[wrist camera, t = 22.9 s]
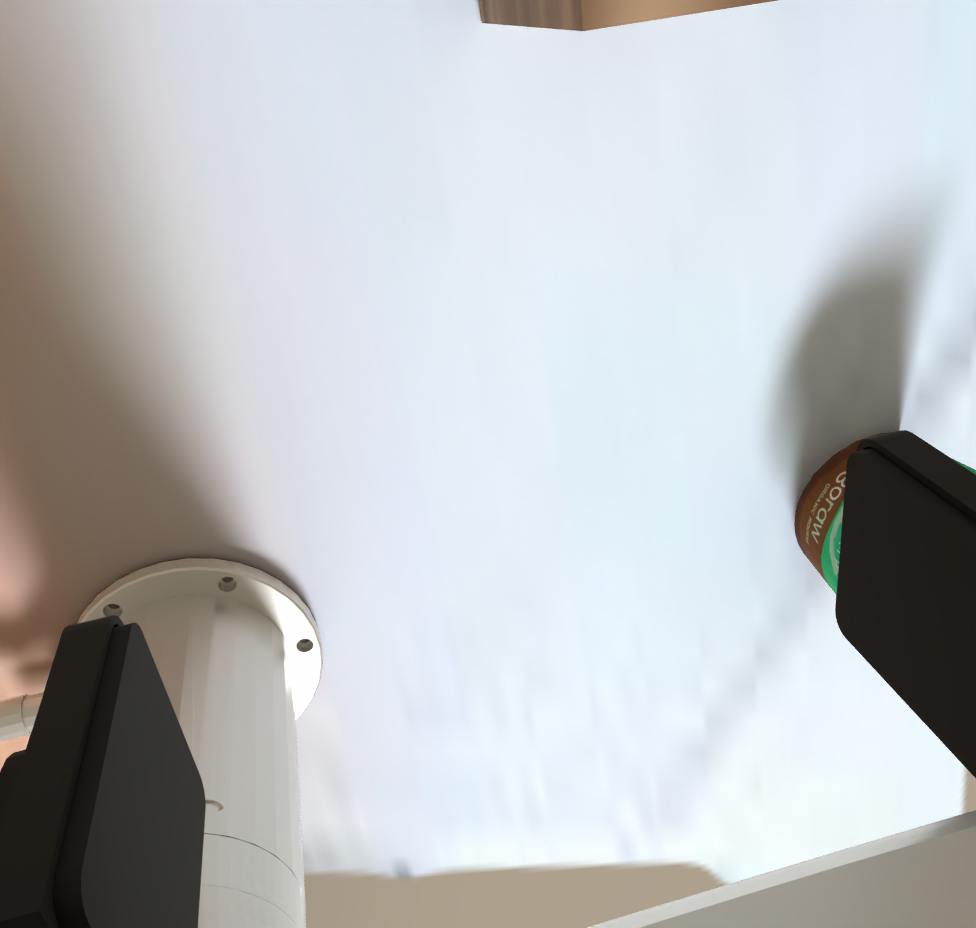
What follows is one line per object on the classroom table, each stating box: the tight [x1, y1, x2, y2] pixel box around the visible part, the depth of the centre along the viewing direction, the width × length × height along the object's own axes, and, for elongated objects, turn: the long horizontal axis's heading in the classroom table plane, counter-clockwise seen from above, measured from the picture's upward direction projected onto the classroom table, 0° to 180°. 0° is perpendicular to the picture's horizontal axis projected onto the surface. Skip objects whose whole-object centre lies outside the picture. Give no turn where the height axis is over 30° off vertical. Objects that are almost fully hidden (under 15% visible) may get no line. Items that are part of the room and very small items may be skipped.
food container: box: [795, 433, 976, 595], centre depth 47 cm, size 12×6×10 cm, turn 171°
